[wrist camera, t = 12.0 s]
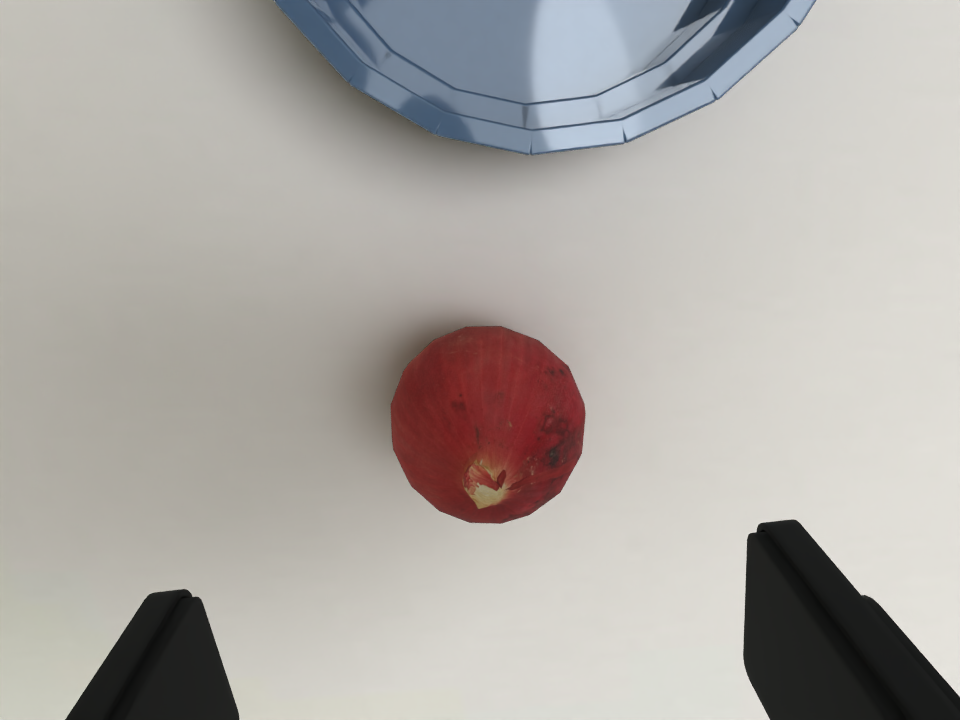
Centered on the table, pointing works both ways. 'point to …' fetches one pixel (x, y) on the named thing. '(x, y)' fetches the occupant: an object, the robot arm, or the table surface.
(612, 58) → the bowl
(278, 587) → the table surface
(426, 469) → the pomegranate
